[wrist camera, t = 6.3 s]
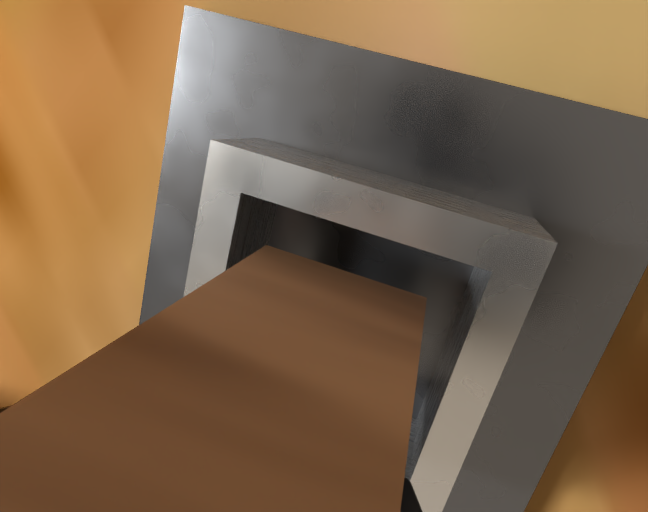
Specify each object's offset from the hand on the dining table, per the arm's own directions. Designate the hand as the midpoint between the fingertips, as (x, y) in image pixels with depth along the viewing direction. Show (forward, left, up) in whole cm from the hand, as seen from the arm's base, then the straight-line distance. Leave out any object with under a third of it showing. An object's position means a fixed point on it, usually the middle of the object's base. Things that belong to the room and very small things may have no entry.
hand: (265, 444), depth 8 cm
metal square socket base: (0, 0, -8) cm, 8 cm away
